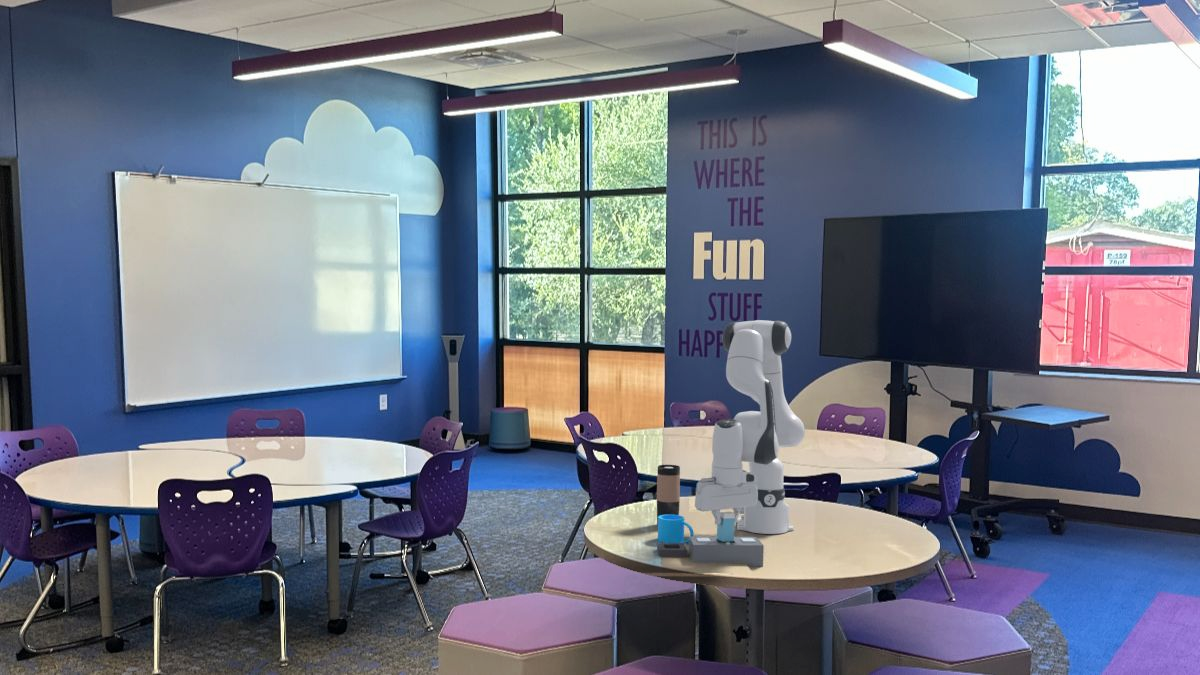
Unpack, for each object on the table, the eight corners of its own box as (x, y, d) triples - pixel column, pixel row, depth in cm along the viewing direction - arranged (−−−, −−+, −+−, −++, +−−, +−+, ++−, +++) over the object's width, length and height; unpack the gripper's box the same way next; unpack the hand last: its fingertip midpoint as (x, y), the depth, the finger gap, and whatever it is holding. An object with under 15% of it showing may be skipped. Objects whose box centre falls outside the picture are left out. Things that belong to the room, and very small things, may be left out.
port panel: (688, 556, 284) (689, 535, 284) (756, 557, 285) (756, 535, 285) (693, 565, 274) (693, 543, 274) (763, 566, 275) (763, 543, 275)
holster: (656, 553, 288) (657, 543, 288) (683, 553, 288) (683, 543, 288) (659, 560, 280) (659, 549, 280) (687, 560, 280) (687, 550, 280)
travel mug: (680, 523, 327) (681, 465, 327) (678, 528, 320) (679, 468, 319) (657, 522, 329) (658, 464, 328) (655, 527, 321) (656, 467, 321)
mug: (652, 544, 299) (653, 517, 299) (666, 538, 306) (666, 513, 306) (686, 549, 293) (687, 523, 292) (699, 544, 299) (700, 518, 299)
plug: (716, 539, 280) (717, 511, 281) (727, 538, 282) (728, 511, 282) (722, 541, 277) (724, 513, 277) (733, 541, 278) (735, 513, 278)
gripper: (703, 480, 271) (702, 529, 272) (761, 475, 281) (760, 522, 282) (690, 476, 277) (690, 524, 277) (748, 471, 287) (747, 518, 287)
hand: (726, 523), depth 279 cm, fingers closed on plug, 4 cm apart
